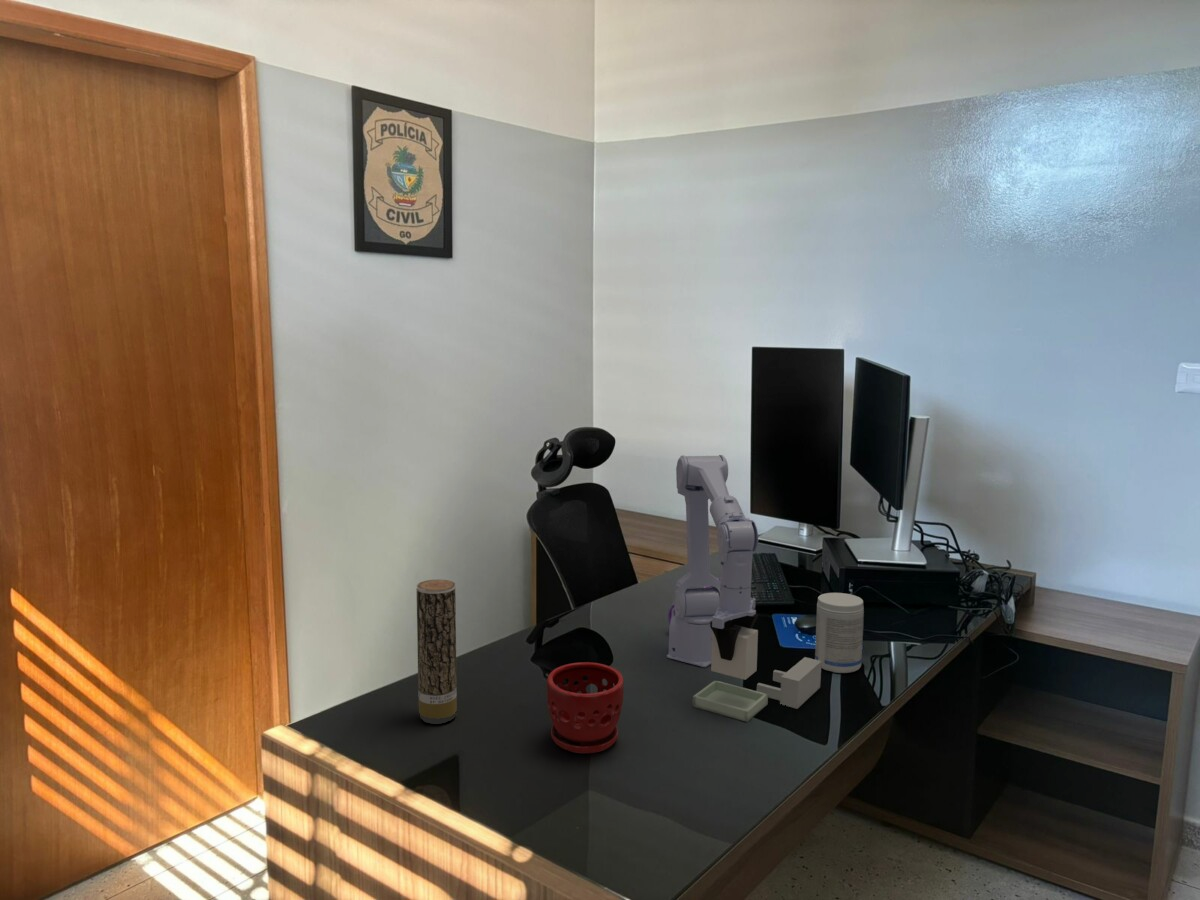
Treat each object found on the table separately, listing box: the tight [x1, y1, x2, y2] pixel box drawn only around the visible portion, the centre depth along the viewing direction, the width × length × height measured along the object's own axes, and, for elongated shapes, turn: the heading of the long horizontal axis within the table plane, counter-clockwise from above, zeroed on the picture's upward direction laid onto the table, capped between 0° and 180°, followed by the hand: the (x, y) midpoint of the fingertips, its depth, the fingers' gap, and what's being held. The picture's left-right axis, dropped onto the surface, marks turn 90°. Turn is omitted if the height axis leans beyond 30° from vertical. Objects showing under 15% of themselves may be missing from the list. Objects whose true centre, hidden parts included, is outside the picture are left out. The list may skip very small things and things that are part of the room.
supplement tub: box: [814, 592, 865, 674], centre depth 186 cm, size 10×10×15 cm
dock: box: [756, 656, 822, 710], centre depth 173 cm, size 9×12×6 cm
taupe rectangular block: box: [710, 625, 759, 681], centre depth 166 cm, size 8×5×8 cm, turn 56°
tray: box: [692, 680, 769, 723], centre depth 167 cm, size 11×9×2 cm
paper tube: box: [416, 579, 458, 719], centre depth 158 cm, size 7×7×25 cm
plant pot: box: [546, 661, 625, 754], centre depth 151 cm, size 13×13×12 cm
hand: (732, 654), depth 166 cm, fingers closed on taupe rectangular block, 5 cm apart
